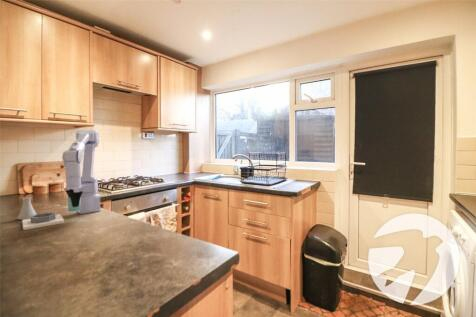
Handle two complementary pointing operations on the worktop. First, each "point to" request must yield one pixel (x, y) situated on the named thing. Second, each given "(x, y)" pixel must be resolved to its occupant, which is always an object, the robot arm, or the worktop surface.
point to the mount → (42, 220)
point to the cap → (70, 207)
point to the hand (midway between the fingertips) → (74, 205)
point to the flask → (26, 209)
